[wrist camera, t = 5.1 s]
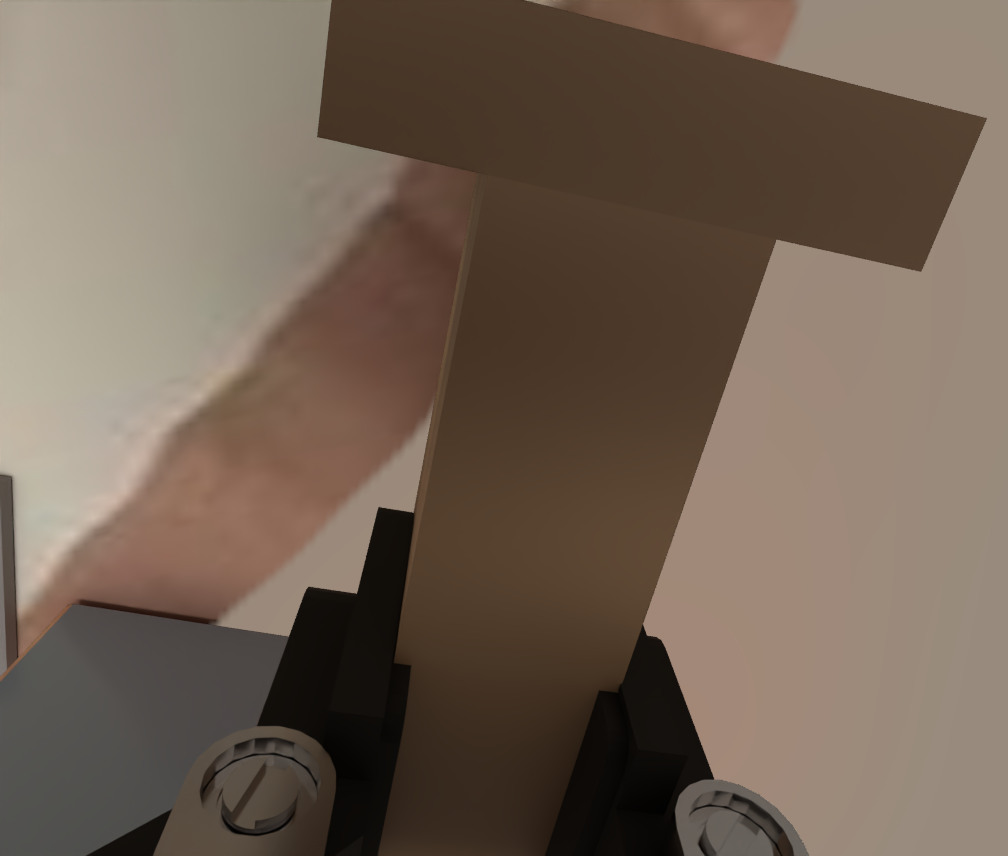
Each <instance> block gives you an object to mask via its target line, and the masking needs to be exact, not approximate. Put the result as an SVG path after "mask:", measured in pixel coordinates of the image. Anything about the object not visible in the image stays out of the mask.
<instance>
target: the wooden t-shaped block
mask: <svg viewBox="0 0 1008 856" xmlns="http://www.w3.org/2000/svg"><path fill="white" fill-rule="evenodd" d="M986 119H987V118H983V117H979V116H976V115H971V114H968V113H964V112H960V111H956V110H952V109H948V108H944V107H940V106H936V105H932V104H929V103H925V102H920V101H917V100H913V99H909V98H905V97H901V96H897V95H893V94H889V93H885V92H882V91H877V90H874V89H870V88H866V87H862V86H858V85H854V84H850V83H846V82H842V81H838V80H835V79H831V78H826V77H823V76H819V75H815V74H811V73H807V72H803V71H799V70H795V69H791V68H788V67H784V66H780V65H776V64H772V63H768V62H764V61H760V60H756V59H752V58H748V57H744V56H741V55H737V54H733V53H729V52H725V51H721V50H717V49H713V48H709V47H705V46H701V45H697V44H693V43H690V42H686V41H682V40H678V39H674V38H670V37H666V36H662V35H658V34H654V33H650V32H646V31H643V30H639V29H635V28H631V27H627V26H623V25H619V24H615V23H611V22H607V21H603V20H599V19H596V18H592V17H588V16H584V15H580V14H576V13H572V12H568V11H564V10H560V9H556V8H552V7H549V6H545V5H541V4H537V3H533V2H529V1H525V0H332V3H331V12H330V22H329V31H328V41H327V50H326V60H325V69H324V79H323V88H322V98H321V107H320V117H319V126H318V136H317V137H320V138H324V139H329V140H333V141H338V142H342V143H347V144H351V145H356V146H360V147H364V148H369V149H373V150H378V151H382V152H387V153H391V154H396V155H400V156H405V157H409V158H414V159H418V160H423V161H427V162H432V163H436V164H441V165H445V166H450V167H454V168H459V169H463V170H468V171H472V172H477V177H476V182H475V187H474V193H473V198H472V203H471V209H470V214H469V219H468V225H467V230H466V235H465V241H464V246H463V252H462V257H461V262H460V268H459V273H458V278H457V284H456V289H455V294H454V300H453V305H452V310H451V316H450V321H449V326H448V332H447V337H446V343H445V348H444V353H443V359H442V364H441V369H440V375H439V380H438V385H437V391H436V396H435V401H434V407H433V412H432V417H431V423H430V428H429V434H428V439H427V444H426V450H425V455H424V460H423V466H422V471H421V476H420V482H419V487H418V492H417V498H416V503H415V509H414V520H413V530H412V537H411V544H410V551H409V558H408V565H407V572H406V579H405V586H404V593H403V600H402V607H401V614H400V621H399V628H398V635H397V642H396V649H395V656H394V663H397V664H405V665H411V673H410V682H409V691H408V699H407V707H406V714H405V720H404V727H403V733H402V738H401V743H400V748H399V753H398V758H397V763H396V768H395V773H394V778H393V783H392V788H391V793H390V798H389V802H388V807H387V812H386V817H385V822H384V827H383V832H382V837H381V842H380V847H379V852H378V856H545V854H546V851H547V848H548V845H549V841H550V838H551V835H552V832H553V829H554V826H555V823H556V820H557V817H558V814H559V811H560V808H561V805H562V802H563V799H564V796H565V793H566V790H567V787H568V784H569V781H570V778H571V774H572V771H573V768H574V765H575V762H576V759H577V756H578V753H579V750H580V747H581V744H582V741H583V738H584V735H585V732H586V729H587V726H588V723H589V720H590V717H591V714H592V710H593V707H594V704H595V701H596V698H597V695H598V692H599V690H601V691H609V692H616V693H618V689H619V686H620V684H622V683H623V680H624V677H625V674H626V671H627V668H628V666H629V663H630V660H631V657H632V654H633V651H634V648H635V645H636V643H637V640H638V637H639V634H640V631H641V628H642V625H643V622H644V619H645V616H646V614H647V611H648V608H649V605H650V602H651V599H652V596H653V594H654V591H655V588H656V585H657V582H658V579H659V576H660V573H661V570H662V568H663V565H664V562H665V559H666V556H667V553H668V550H669V547H670V545H671V542H672V539H673V536H674V533H675V530H676V527H677V524H678V521H679V519H680V516H681V513H682V510H683V507H684V504H685V501H686V498H687V495H688V493H689V490H690V487H691V484H692V481H693V478H694V475H695V473H696V470H697V467H698V463H699V461H700V458H701V455H702V452H703V449H704V447H705V444H706V441H707V438H708V435H709V432H710V429H711V426H712V424H713V421H714V418H715V415H716V412H717V409H718V406H719V403H720V400H721V398H722V395H723V392H724V389H725V386H726V383H727V380H728V377H729V375H730V372H731V369H732V366H733V363H734V360H735V357H736V354H737V351H738V348H739V346H740V343H741V340H742V337H743V334H744V331H745V328H746V325H747V323H748V320H749V317H750V314H751V311H752V308H753V305H754V303H755V300H756V297H757V294H758V291H759V288H760V285H761V282H762V279H763V276H764V274H765V271H766V268H767V265H768V262H769V259H770V256H771V254H772V251H773V248H774V245H775V242H776V239H778V240H781V241H786V242H791V243H795V244H799V245H804V246H809V247H813V248H817V249H822V250H826V251H831V252H835V253H840V254H845V255H849V256H853V257H858V258H862V259H867V260H871V261H876V262H880V263H885V264H889V265H894V266H898V267H902V268H907V269H911V270H916V271H922V269H923V266H924V264H925V261H926V259H927V257H928V254H929V252H930V249H931V248H932V245H933V243H934V240H935V238H936V236H937V233H938V231H939V229H940V227H941V224H942V222H943V220H944V217H945V215H946V213H947V210H948V208H949V206H950V203H951V201H952V199H953V196H954V194H955V191H956V189H957V187H958V185H959V182H960V180H961V177H962V175H963V173H964V171H965V168H966V166H967V164H968V161H969V159H970V156H971V154H972V152H973V150H974V147H975V145H976V143H977V140H978V138H979V136H980V133H981V131H982V129H983V126H984V124H985V122H986Z"/></svg>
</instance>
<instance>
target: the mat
mask: <svg viewBox="0 0 1008 856" xmlns="http://www.w3.org/2000/svg"><path fill="white" fill-rule="evenodd" d="M16 660H17V640H16V610H15V580H14V550H13V520H12V490H11V477H6V476H0V676H1V675H2V674H3V673H4V672H5V671H6V670H7V669H8V668H9V667H10V666H11V665H12V664H13V663H14V662H15V661H16Z"/></svg>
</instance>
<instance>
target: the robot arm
mask: <svg viewBox="0 0 1008 856" xmlns="http://www.w3.org/2000/svg"><path fill="white" fill-rule="evenodd" d="M413 520H414V513H412V512H406V511H399V510H393V509H386V508H380V507H379V508H378V511H377V515H376V519H375V523H374V527H373V532H372V536H371V540H370V543H369V547H368V552H367V556H366V560H365V564H364V568H363V572H362V576H361V580H360V584H359V588H358V592H357V594H355V593H347V592H341V591H334V590H327V589H320V588H314V587H308V588H307V589H306V592H305V594H304V596H303V599H302V602H301V605H300V608H299V610H298V613H297V616H296V619H295V622H294V625H293V627H292V630H291V633H290V635H289V638H288V641H287V644H286V646H285V649H284V652H283V655H282V658H281V660H280V663H279V666H278V669H277V671H276V674H275V677H274V680H273V683H272V685H271V688H270V691H269V694H268V696H267V699H266V702H265V705H264V708H263V710H262V713H261V716H260V719H259V721H258V724H257V727H253V728H249V729H245V730H241V731H237V732H234V733H232V734H230V735H228V736H226V737H224V738H222V739H220V740H218V741H216V742H215V743H214V744H212V745H211V746H210V747H209V748H208V749H207V750H206V751H204V752H203V753H202V754H201V755H200V756H199V757H198V758H197V760H196V761H195V763H194V764H193V766H192V768H191V769H190V771H189V772H188V774H187V776H186V778H185V780H184V783H183V785H182V787H181V790H180V792H179V794H178V797H177V799H176V802H175V804H174V806H173V808H172V809H171V810H169V811H167V812H165V813H163V814H161V815H160V816H158V817H156V818H154V819H152V820H150V821H149V822H147V823H145V824H143V825H141V826H139V827H137V828H136V829H134V830H132V831H130V832H128V833H126V834H125V835H123V836H121V837H119V838H117V839H115V840H114V841H112V842H110V843H108V844H106V845H104V846H103V847H101V848H99V849H97V850H95V851H93V852H92V853H90V854H88V855H86V856H378V852H379V847H380V842H381V837H382V832H383V827H384V822H385V817H386V812H387V807H388V802H389V798H390V793H391V788H392V783H393V778H394V773H395V768H396V763H397V758H398V753H399V748H400V743H401V738H402V733H403V727H404V720H405V714H406V707H407V699H408V691H409V682H410V673H411V665H405V664H397V663H394V656H395V649H396V642H397V635H398V628H399V621H400V614H401V607H402V600H403V593H404V586H405V579H406V572H407V565H408V558H409V551H410V544H411V537H412V530H413ZM545 856H809V854H808V852H807V850H806V848H805V846H804V843H803V842H802V840H801V839H800V837H799V835H798V833H797V832H796V830H795V829H794V827H793V825H792V824H791V823H790V822H789V821H788V820H787V819H786V818H785V817H784V815H782V813H781V812H780V811H779V810H778V809H777V808H776V807H775V806H773V805H772V804H771V803H769V802H768V801H767V800H765V799H764V798H763V797H762V796H760V795H759V794H757V793H755V792H753V791H751V790H749V789H747V788H745V787H743V786H741V785H739V784H735V783H731V782H727V781H723V780H714V777H713V774H712V772H711V769H710V767H709V764H708V761H707V759H706V756H705V753H704V751H703V748H702V745H701V742H700V740H699V737H698V734H697V732H696V729H695V726H694V724H693V721H692V718H691V715H690V713H689V710H688V708H687V705H686V702H685V700H684V697H683V694H682V692H681V689H680V686H679V683H678V681H677V678H676V675H675V673H674V670H673V667H672V665H671V662H670V659H669V656H668V654H667V651H666V648H665V647H664V645H663V643H662V641H661V640H660V639H658V638H657V637H652V636H647V635H646V632H645V629H644V626H643V625H642V628H641V631H640V634H639V637H638V640H637V643H636V645H635V648H634V651H633V654H632V657H631V660H630V663H629V666H628V668H627V671H626V674H625V677H624V680H623V683H622V684H620V686H619V689H618V693H616V692H609V691H601V690H599V692H598V695H597V698H596V701H595V704H594V707H593V710H592V714H591V717H590V720H589V723H588V726H587V729H586V732H585V735H584V738H583V741H582V744H581V747H580V750H579V753H578V756H577V759H576V762H575V765H574V768H573V771H572V774H571V778H570V781H569V784H568V787H567V790H566V793H565V796H564V799H563V802H562V805H561V808H560V811H559V814H558V817H557V820H556V823H555V826H554V829H553V832H552V835H551V838H550V841H549V845H548V848H547V851H546V854H545Z"/></svg>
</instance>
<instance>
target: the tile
mask: <svg viewBox="0 0 1008 856" xmlns="http://www.w3.org/2000/svg"><path fill="white" fill-rule="evenodd" d="M288 638H289V637H287V636H281V635H274V634H268V633H261V632H254V631H248V630H241V629H235V628H228V627H222V626H215V625H209V624H202V623H195V622H189V621H182V620H176V619H169V618H163V617H156V616H150V615H143V614H137V613H130V612H123V611H117V610H110V609H104V608H97V607H91V606H84V605H78V604H73V605H68V606H67V607H66V608H65V609H64V610H63V611H62V612H61V613H60V614H59V615H58V616H57V617H56V618H55V619H54V621H53V622H52V623H51V624H50V625H49V626H48V627H47V628H46V629H45V630H44V631H43V632H42V633H41V634H40V635H39V636H38V637H37V638H36V640H35V641H34V642H33V643H32V644H31V645H30V646H29V647H28V648H27V649H26V650H25V651H24V652H23V653H22V654H21V655H20V656H19V657H18V659H17V660H16V661H15V662H14V663H13V664H12V665H11V666H10V667H9V668H8V669H7V670H6V671H5V672H4V673H3V674H2V675H1V676H0V856H86V855H88V854H90V853H92V852H93V851H95V850H97V849H99V848H101V847H103V846H104V845H106V844H108V843H110V842H112V841H114V840H115V839H117V838H119V837H121V836H123V835H125V834H126V833H128V832H130V831H132V830H134V829H136V828H137V827H139V826H141V825H143V824H145V823H147V822H149V821H150V820H152V819H154V818H156V817H158V816H160V815H161V814H163V813H165V812H167V811H169V810H171V809H172V808H173V806H174V804H175V802H176V799H177V797H178V794H179V792H180V790H181V787H182V785H183V783H184V780H185V778H186V776H187V774H188V772H189V771H190V769H191V768H192V766H193V764H194V763H195V761H196V760H197V758H198V757H199V756H200V755H201V754H202V753H203V752H204V751H206V750H207V749H208V748H209V747H210V746H211V745H212V744H214V743H215V742H216V741H218V740H220V739H222V738H224V737H226V736H228V735H230V734H232V733H234V732H237V731H241V730H245V729H249V728H253V727H257V724H258V721H259V719H260V716H261V713H262V710H263V708H264V705H265V702H266V699H267V696H268V694H269V691H270V688H271V685H272V683H273V680H274V677H275V674H276V671H277V669H278V666H279V663H280V660H281V658H282V655H283V652H284V649H285V646H286V644H287V641H288Z"/></svg>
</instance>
